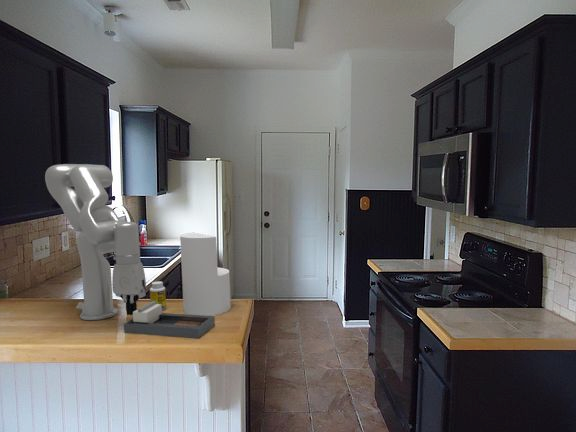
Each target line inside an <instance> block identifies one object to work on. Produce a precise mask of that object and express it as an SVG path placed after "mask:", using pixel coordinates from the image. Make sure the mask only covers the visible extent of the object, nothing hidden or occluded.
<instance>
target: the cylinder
mask: <svg viewBox="0 0 576 432" xmlns="http://www.w3.org/2000/svg"><path fill="white" fill-rule="evenodd" d="M179 240H180V241H179V242H180V256H181V257H180V258H181V260H180V261H181V278H182V279H181V281H182V283H181V284H182V299H183V300H182V304H183V314H187V315H203V316H211V315H212V316H217V315H220V314H224V313H226V312H228V311H230V309H231V307H232V306H231V305H232V304H231V282H230V280H231V279H230V276H231V275H230V270H229V269H227V268H224V267H218V254H217V253H218V251H217V250H218V247H217V236H215V235H214V236H213V235H209V234H208V235H207V234H203V233H198V232H187V233H184V234H180V236H179ZM223 312H224V313H223Z"/></svg>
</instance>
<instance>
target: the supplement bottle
mask: <svg viewBox="0 0 576 432" xmlns="http://www.w3.org/2000/svg"><path fill="white" fill-rule="evenodd" d="M166 295H167V294H166V287H165V286H164V282H163V281H152V282H151V287H150V288H149V298H150V299H149V301H150V302H152V301H156V304H162V311H164V310H166V308H167V302H166V301H167V299H166ZM150 302H149V303H150Z"/></svg>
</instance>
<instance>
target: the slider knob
mask: <svg viewBox="0 0 576 432" xmlns="http://www.w3.org/2000/svg"><path fill="white" fill-rule="evenodd" d="M162 313H163V310H162V304H156V301H152V302H148V303H147V304H146V305H144V306H141V307H139V308H137V310H135V311H134V312H133V315H132V319H133V322H142V323H153V322H155V321H157V320H158V319H159V315H160V314H162Z"/></svg>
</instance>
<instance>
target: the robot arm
mask: <svg viewBox="0 0 576 432" xmlns="http://www.w3.org/2000/svg"><path fill="white" fill-rule="evenodd" d="M113 176H114V175H113V172H112V171H111V169H110V168H109V167H107V166H106V165H104V164H90V163H89V164H88V163H83V164H81V163H79V164H77V163H63V164H54V165H51V166H50V167H48V168H47V170H46V171H45V175H44V178H45V179H44V181H45V184H46V188H47V190H48V192H49V193H50V194H49V195H51V197H52V198H53V199H54V201H55V202H57V204H58V205H59V206H60V208H61V209H62V211H63V214H64V216H65V217H66V219H67V221H68V223H69V224H70V226H71V228H72V229H73V230H74V231H75V232H78V235H77V237H76V247H77V251H78V254H79V255H78V256H79V259H80V265H81V276H82V289H83V290H82V291H83V292H82V294H83V302H82V301H79V302H78V303H77V305H76V307H75V308H76V309H77V310H81V312H80V314H79V317H80V319H81V320H84V321H98V320H104V319H109V318H113V317H114V316H117V314H118V313H119V309H118V308H117V307H115V306H114V300H113V297H114V296H113V294H115V296H116V297H119V298H121V299H122V301H123V303H124V304H125V311H126V315H127V316H133V312H134V311H135V310H137V309H138V308H137V305H138V304H137V302H138V301H139V299H141V298H144V297H146V296H147V294H146V291H147V281H146V279H147V278H146V273H145V269H144V265H143V262H141V249H140V233H139V225H138V223H137V222H134V221H126V220H123V219H120V218H119V217H118V214H116V212H115V210H114V209H113V208H112V207H110V206H109V205H106V204H107V203H108V201H109V195H108V193H107V191H106V189H105V188H109V187H111V185H112V184H113V182H114V177H113ZM73 187H74V188H73ZM114 252H115V255H114V256H113V260H115V263H114V264H113V267H112V268H113V269H111V265H110V262H109V260H108V259H107V258H106V257H105V256H104V255H105V254H108V253H109V254H110V253H114Z"/></svg>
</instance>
